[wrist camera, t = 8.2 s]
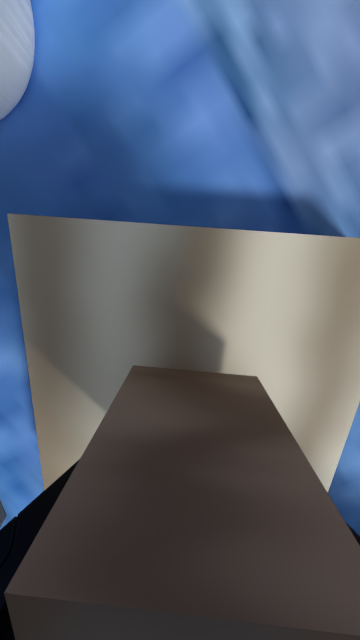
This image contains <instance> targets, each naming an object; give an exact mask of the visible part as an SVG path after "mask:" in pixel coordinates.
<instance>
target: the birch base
mask: <svg viewBox="0 0 360 640" xmlns="http://www.w3.org/2000/svg"><path fill="white" fill-rule="evenodd" d="M7 216H8V224H9V231H10V238H11V246H12V253H13V261H14V268H15V276H16V283H17V290H18V298H19V305H20V313H21V320H22V328H23V335H24V342H25V350H26V357H27V365H28V372H29V380H30V387H31V394H32V402H33V409H34V417H35V424H36V432H37V439H38V446H39V454H40V461H41V469H42V476H43V484H44V490H46V489H47V488H48V487H49V486H50V485H51V484H52V483H53V482H54V481H56V480H57V479H58V478H59V477H60V476H61V475H62V474H63V473H64V472H66V471H67V470H68V469H69V468H70V467H71V466H72V465H73V464H75V463H76V462H77V461H78V460H79V459H80V458H81V456H82V455H83V453H84V451H85V449H86V448H87V446H88V444H89V442H90V440H91V439H92V437H93V435H94V433H95V432H96V430H97V428H98V426H99V425H100V423H101V421H102V419H103V418H104V416H105V414H106V412H107V411H108V409H109V407H110V405H111V403H112V402H113V400H114V398H115V396H116V395H117V393H118V391H119V389H120V388H121V386H122V384H123V382H124V381H125V379H126V377H127V375H128V373H129V372H130V370H131V368H132V366H133V365H136V366H147V367H158V368H170V369H181V370H192V371H203V372H214V373H225V374H236V375H247V376H257V377H258V379H259V380H260V382H261V384H262V385H263V387H264V389H265V390H266V392H267V394H268V395H269V397H270V399H271V400H272V402H273V403H274V405H275V407H276V408H277V410H278V412H279V413H280V415H281V417H282V418H283V420H284V422H285V423H286V425H287V427H288V428H289V430H290V432H291V433H292V435H293V436H294V438H295V440H296V441H297V443H298V445H299V446H300V448H301V450H302V451H303V453H304V455H305V456H306V458H307V460H308V461H309V463H310V465H311V466H312V468H313V470H314V471H315V473H316V474H317V476H318V478H319V479H320V481H321V483H322V484H323V486H324V488H325V489H326V491H327V493H328V491H329V488H330V485H331V482H332V479H333V476H334V473H335V471H336V468H337V465H338V462H339V459H340V456H341V454H342V451H343V448H344V445H345V442H346V439H347V436H348V434H349V431H350V428H351V425H352V422H353V419H354V416H355V414H356V411H357V408H358V405H359V402H360V238H351V237H336V236H322V235H308V234H294V233H279V232H265V231H251V230H237V229H222V228H208V227H194V226H180V225H165V224H151V223H137V222H122V221H108V220H94V219H80V218H65V217H51V216H37V215H23V214H8V213H7Z"/></svg>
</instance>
